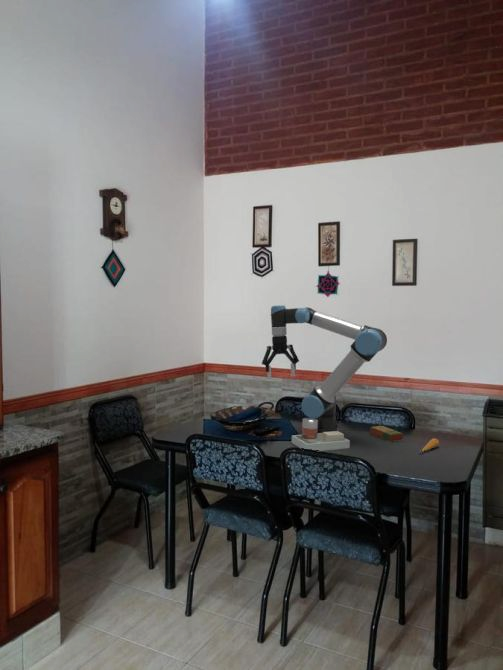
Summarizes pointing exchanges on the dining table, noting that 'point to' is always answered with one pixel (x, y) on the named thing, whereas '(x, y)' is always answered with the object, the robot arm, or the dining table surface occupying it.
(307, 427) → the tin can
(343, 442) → the tote
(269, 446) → the dining table surface
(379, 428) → the carton
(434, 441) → the carrot
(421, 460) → the dining table surface
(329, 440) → the beige rectangular block
